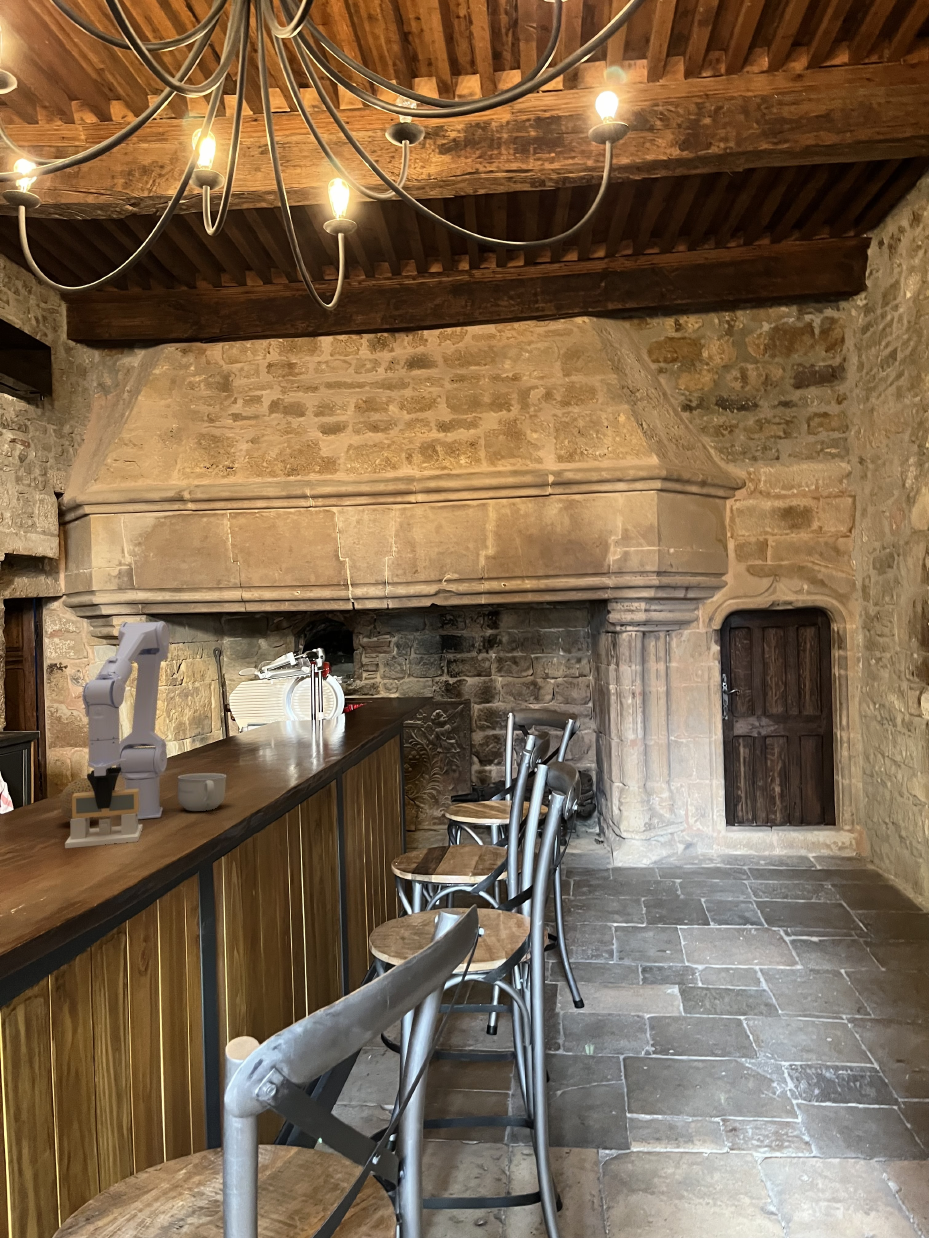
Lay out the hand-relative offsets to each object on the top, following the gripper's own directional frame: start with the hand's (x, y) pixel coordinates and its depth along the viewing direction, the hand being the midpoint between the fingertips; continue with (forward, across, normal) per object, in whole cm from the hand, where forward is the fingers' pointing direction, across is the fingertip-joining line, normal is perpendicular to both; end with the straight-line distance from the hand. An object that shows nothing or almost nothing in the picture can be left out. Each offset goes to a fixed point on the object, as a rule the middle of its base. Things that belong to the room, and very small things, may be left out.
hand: (105, 806), depth 161 cm
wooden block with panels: (+2, 0, 0) cm, 2 cm away
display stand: (+6, 0, 0) cm, 6 cm away
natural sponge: (+7, +16, +6) cm, 18 cm away
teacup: (+7, +20, -18) cm, 28 cm away
